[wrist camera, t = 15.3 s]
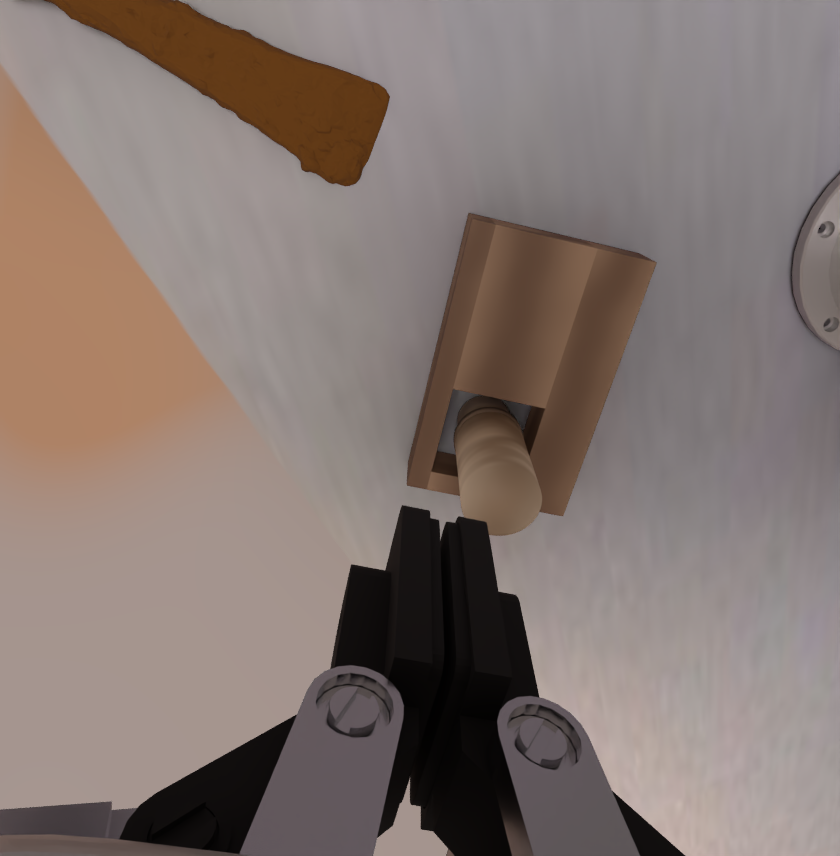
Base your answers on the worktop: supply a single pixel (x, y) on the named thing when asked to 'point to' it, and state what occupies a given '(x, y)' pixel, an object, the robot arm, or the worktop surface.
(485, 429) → the peg
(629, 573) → the worktop surface
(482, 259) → the board
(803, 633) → the worktop surface
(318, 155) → the primitive tool
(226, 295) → the worktop surface
